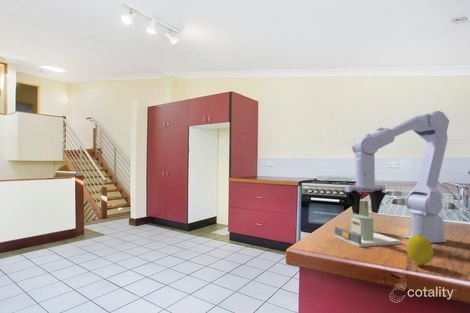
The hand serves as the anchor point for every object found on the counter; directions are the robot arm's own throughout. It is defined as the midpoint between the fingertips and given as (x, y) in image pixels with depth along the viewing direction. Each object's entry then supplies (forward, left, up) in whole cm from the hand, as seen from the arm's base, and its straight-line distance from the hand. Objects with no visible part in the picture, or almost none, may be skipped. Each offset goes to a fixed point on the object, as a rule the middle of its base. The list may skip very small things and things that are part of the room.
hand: (365, 213), depth 90 cm
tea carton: (+1, -1, -8) cm, 8 cm away
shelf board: (-1, -1, -9) cm, 9 cm away
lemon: (+3, +22, -10) cm, 24 cm away
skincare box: (-8, -12, -10) cm, 17 cm away
